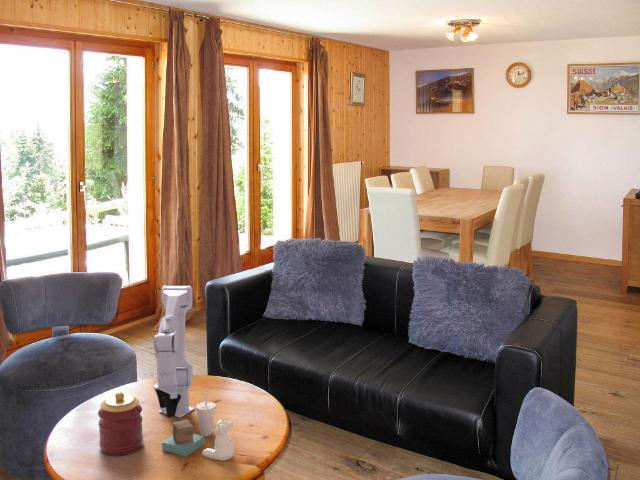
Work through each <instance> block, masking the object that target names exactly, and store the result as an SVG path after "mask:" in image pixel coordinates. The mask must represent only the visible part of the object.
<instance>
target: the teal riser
mask: <svg viewBox="0 0 640 480" xmlns="http://www.w3.org/2000/svg"><path fill="white" fill-rule="evenodd" d="M204 444H205V436H201V435H200V434H196V433H193V441H190V442H186V443H182V444H177V442H176V441H175V440H174V438H173V434H172V435H171V436H169V437H168V438H166V439H165V440H164V441H162V442H161V448H162V451H166V452H168V453H171V454H175V455H178V456H183V457H188V456H189V455H190V454H192V453H194V452H195V451H196V450H198V449H199V448H201V447H202V446H203V445H204Z"/></svg>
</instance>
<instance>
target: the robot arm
mask: <svg viewBox="0 0 640 480" xmlns="http://www.w3.org/2000/svg"><path fill="white" fill-rule="evenodd" d="M160 294H161V296H160V297H161V299H160V300H161V303H162V305H163V307H164V309H165V315H164V316H163V317H162V318H161V320H160V322H159V326H158V333H157V334H155V335H154V339H153V350H154V357H155V359H156V384H154V385H153V387H152V388H153V390H154V391H155V393H156V396H157V400H158V404H159V409H160V410H158V412H159V413H160V414H165V415H166V416H167V418H174V417H177V418H179V419H181V418H183V417H184V416H186V415H188V414H190V413H191V412H192V411H194V410H195V407H193V406H190V399H189V398H190V396H189V395H190V394H189V393H190V392H189V391H190V390H189V388H191V387H192V385H193V380H194V379H193V378H194V372H193V364H192V363H191V362H190V361H189V360H187V359H186V358H185V351H186V350H185V348H186V347H185V346H186V344H185V343H186V341H185V340H186V316H187V315H186V314H187V313H188V311H189V310H192V307H193V287H191V285H163V286H162V288H161V293H160Z"/></svg>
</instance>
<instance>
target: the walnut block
mask: <svg viewBox="0 0 640 480" xmlns="http://www.w3.org/2000/svg"><path fill="white" fill-rule="evenodd" d="M193 434H194V425H193V424H192V423H191V421H190V420H189V419H183V420H179V421H175V422H172V435H173V438H174V440H175V441H176V442H177V444H182V443H186V442H190V441H193Z"/></svg>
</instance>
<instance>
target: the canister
mask: <svg viewBox="0 0 640 480" xmlns="http://www.w3.org/2000/svg"><path fill="white" fill-rule="evenodd" d="M142 411H143V407H142V405H140V401H139V398H137V397H135V396H133V395H131V394H127V393H126V394H125V393H123V392H122V391H118V392H117V393H115V395H114V394H113V395H112V396H109V397H107V398H106V399H105V400H103V401H102V402H101V403H100V408H99V409H98V411H97V415H98V417H99V420H98V430H99V441H98V442H99V443H98V446H99V448H100V451H101V452H102V453H103V454H105V455H108V456H115V457H117V456H126V455H130V454H132V453H135V452H137V451H138V450H140V449H141V448H142V446H143V442H144V435H143V417H142V415H141V413H142Z"/></svg>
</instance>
